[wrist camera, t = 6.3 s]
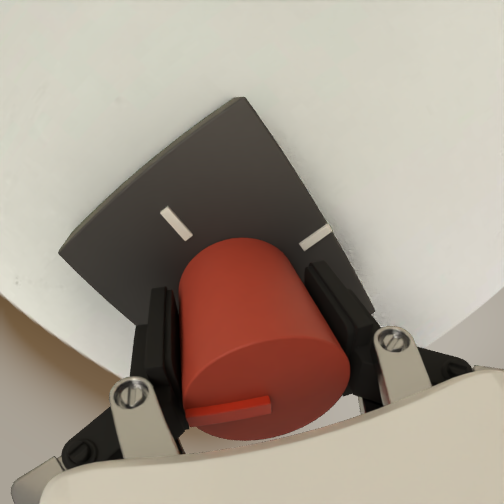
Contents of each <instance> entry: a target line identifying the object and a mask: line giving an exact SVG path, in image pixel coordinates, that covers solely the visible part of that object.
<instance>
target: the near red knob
mask: <svg viewBox="0 0 504 504" xmlns="http://www.w3.org/2000/svg"><path fill="white" fill-rule="evenodd" d="M179 337H180V362H181V382H182V398H183V408H184V411H185V417H186V420H187V422H188V424H189V426H190V427H197V428H198V429H200V430H202V431H204V432H206V433H208V434H210V435H212V436H216V437H219V438H224V439H229V440H242V441H243V440H244V441H246V440H260V439H267V438H272V437H276V436H280V435H284V434H287V433H290V432H292V431H295V430H297V429H299V428H302V427H304V426H306V425H307V424H309V423H311V422H313V421H314V420H316V419H317V418H319V417H320V416H322V415H323V414H324V413H325V412H327V411H328V410H329V409H330V408H331V407H332V406H333V405H334V404H335V403H336V402H337V401H338V400H339V399H340V397H341V396H342V394H343V393H344V391H345V389H346V387H347V385H348V382H349V379H350V363H349V360H348V357H347V356H346V354H345V352H344V351H343V349H342V347H341V346H340V344H339V342H338V340H337V339H336V337H335V335H334V334H333V332H332V330H331V329H330V327H329V325H328V324H327V322H326V320H325V319H324V317H323V315H322V314H321V312H320V310H319V309H318V307H317V305H316V304H315V302H314V300H313V299H312V297H311V296H310V294H309V292H308V291H307V289H306V287H305V286H304V284H303V282H302V281H301V279H300V278H299V276H298V274H297V273H296V271H295V269H294V268H293V266H292V265H291V263H290V261H289V260H288V258H287V257H286V256H285V255H284V253H283V252H281V251H280V250H279V249H278V248H276V247H275V246H273V245H272V244H269V243H267V242H265V241H262V240H258V239H253V238H232V239H227V240H223V241H220V242H217V243H215V244H213V245H210V246H208V247H207V248H205V249H204V250H202V251H201V252H200V253H198V254H197V255H196V256H195V257H194V258H193V259H192V260H191V261H190V262H189V264H188V265H187V267H186V268H185V270H184V272H183V274H182V276H181V279H180V283H179Z"/></svg>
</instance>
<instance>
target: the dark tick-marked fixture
mask: <svg viewBox="0 0 504 504" xmlns="http://www.w3.org/2000/svg"><path fill="white" fill-rule="evenodd" d="M332 231H333V230H332V229H331V227H330V225H329V224H328V223H327V222H326V220H325V219H324V217H323V215H322V214H321V212H320V210H319V209H318V207H317V205H316V204H315V202H314V200H313V199H312V197H311V195H310V194H309V192H308V191H307V189H306V187H305V186H304V184H303V183H302V181H301V179H300V178H299V176H298V175H297V173H296V172H295V170H294V168H293V167H292V165H291V164H290V162H289V161H288V159H287V158H286V156H285V155H284V153H283V151H282V150H281V148H280V147H279V145H278V144H277V142H276V141H275V139H274V138H273V136H272V135H271V133H270V132H269V131H268V129H267V128H266V126H265V125H264V123H263V122H262V120H261V119H260V117H259V116H258V115H257V113H256V112H255V110H254V109H253V107H252V106H251V105H250V103H249V102H248V100H247V99H246V98H245V97H236V98H233V99H232V100H230V101H229V102H227V103H226V104H224V105H223V106H221V107H220V108H218V109H217V110H216V111H214V112H213V113H211V114H210V115H208V116H207V117H206V118H204V119H203V120H202V121H200V122H199V123H197V124H196V125H195V126H193V127H192V128H191V129H189V130H188V131H187V132H185V133H184V134H183V135H181V136H180V137H179V138H178V139H176V140H175V141H174V142H172V143H171V144H170V145H169V146H167V147H166V148H165V149H164V150H162V151H161V152H160V153H159V154H157V155H156V156H155V157H154V158H152V159H151V160H150V161H149V162H148V163H146V164H145V165H144V166H143V167H142V168H140V169H139V170H138V171H137V172H136V173H135V174H133V175H132V176H131V177H130V178H129V179H128V180H127V181H125V182H124V183H123V184H122V185H121V186H120V187H119V188H118V189H116V190H115V191H114V192H113V193H112V194H111V195H110V196H109V197H108V198H107V199H106V200H105V201H103V202H102V203H101V204H100V205H99V206H98V207H97V208H96V209H95V210H94V211H93V212H92V213H91V214H90V215H89V216H88V217H87V218H86V219H85V220H84V221H83V222H82V223H81V224H80V225H79V226H78V227H77V228H76V229H75V230H74V231H73V232H72V233H71V234H70V236H69V237H68V239H67V240H66V241H65V243H64V244H63V246H62V247H61V248H60V250H59V252H58V253H59V255H60V256H61V257H62V258H63V259H64V260H65V261H66V262H67V263H68V264H69V265H70V266H71V267H72V268H73V269H74V270H75V271H76V272H77V273H78V274H79V275H80V276H81V277H82V278H83V279H84V280H86V281H87V282H88V283H89V284H90V285H91V286H92V287H93V288H94V289H95V290H96V291H97V292H98V293H99V294H100V295H102V296H103V297H104V298H105V299H106V300H107V301H108V302H109V303H110V304H112V305H113V306H114V307H115V308H116V309H117V310H118V311H120V312H121V313H122V314H123V315H124V316H125V317H126V318H128V319H129V320H130V321H131V322H132V323H134V324H135V325H136V326H137V325H143V324H148V314H149V305H150V296H151V289H152V288H157V287H163V286H166V287H167V289H168V290H169V289H172V290H173V293H174V297H175V301H176V305H177V309H178V313H179V283H180V279H181V276H182V274H183V272H184V270H185V268H186V267H187V265H188V264H189V262H190V261H191V260H192V259H193V258H194V257H195V256H196V255H197V254H198V253H200V252H201V251H202V250H204V249H205V248H207V247H208V246H210V245H213V244H215V243H217V242H220V241H223V240H227V239H232V238H253V239H258V240H262V241H265V242H267V243H269V244H272V245H273V246H275V247H276V248H278V249H279V250H280V251H281V252H283V253H284V255H285V256H286V257H287V258H288V260H289V261H290V263H291V265H292V266H293V268H294V269H295V271H296V273H297V274H298V276H299V278H300V279H301V281H302V282H303V284H304V273H305V267H309V263H310V262H316V261H322V260H324V261H325V262H326V263H327V264H328V265H329V267H330V268H331V269H332V271H333V272H334V273H335V274H336V276H337V277H338V278H339V279H340V281H341V282H342V283H343V284H344V286H345V287H346V288H347V289H351V290H352V291H353V292H354V294H355V295H356V296H357V297H358V299H359V300H360V301H361V302H362V304H363V305H364V306H365V308H366V309H367V310H368V311H369V313H370V314H373V313H374V312H375V309H374V307H373V305H372V303H371V301H370V299H369V297H368V296H367V294H366V292H365V290H364V288H363V286H362V284H361V282H360V280H359V279H358V277H357V275H356V273H355V271H354V269H353V268H352V266H351V264H350V262H349V260H348V259H347V257H346V255H345V253H344V251H343V250H342V248H341V246H340V244H339V243H338V241H337V239H336V237H335V236H334V234H333V232H332Z"/></svg>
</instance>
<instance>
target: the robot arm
mask: <svg viewBox="0 0 504 504" xmlns="http://www.w3.org/2000/svg"><path fill="white" fill-rule="evenodd" d="M304 286H305V287H306V289H307V291H308V292H309V294H310V296H311V297H312V299H313V300H314V302H315V304H316V305H317V307H318V309H319V310H320V312H321V314H322V315H323V317H324V319H325V320H326V322H327V324H328V325H329V327H330V329H331V330H332V332H333V334H334V335H335V337H336V339H337V340H338V342H339V344H340V346H341V347H342V349H343V351H344V352H345V354H346V356H347V357H348V360H349V363H350V379H349V382H348V385H347V387H346V389H345V391H344V393H343V394H342V395H343V396H346V395H349V394H353V395H356V396H358V401H359V407H360V413H361V415H359V416H356V417H353V418H350V419H347V420H344V421H341V422H338V423H335V424H331V425H328V426H325V427H321V428H318V429H315V430H311V431H307V432H303V433H300V434H296V435H292V436H288V437H283V438H279V439H275V440H270V441H265V442H261V443H256V444H251V445H246V446H240V447H234V448H229V449H222V450H215V451H208V452H201V453H192V454H185V451H184V449H183V447H182V445H181V442H180V440H179V437H180V435H182V434H183V432H185V430H186V429H189V424H188V422H187V420H186V417H185V411H184V408H183V398H182V382H181V362H180V337H179V313H178V309H177V305H176V301H175V297H174V293H173V290H172V289H169V290H168V289H167V287H166V286H163V287H157V288H152V289H151V296H150V305H149V314H148V324H143V325H137V326H136V329H135V336H134V344H133V352H132V361H131V370H130V377H126V378H124V379H121V380H120V381H118V382H117V383H116V384H115V385H114V386H113V387H112V389H111V391H110V394H109V400H110V407H109V408H108V409H107V410H105V411H104V412H103V413H102V414H101V415H99V416H98V417H97V418H96V419H94V420H93V421H92V422H91V423H90V424H89V425H87V426H86V427H85V428H84V429H82V430H81V431H80V432H79V433H77V434H76V435H75V436H74V437H73V438H71V439H70V440H69V441H68V442H67V443H66V444H65V446H64V448H63V450H62V455H61V456H60V457H58V458H56V457H55V456H54V457H52V458H50V459H49V460H47V461H46V462H44V463H43V464H41V465H39V466H38V467H36V468H34V469H33V470H31V471H29V472H28V473H26V474H24V475H23V476H21V477H19V478H18V479H17V480H16V481H15V482H14V483H13V485H12V487H11V495H12V499H13V501H14V504H504V369H500V368H492V367H485V366H478V365H474V367H473V368H471V366H470V365H469V364H468V363H467V362H466V361H465V360H463V359H460V358H458V357H454V356H450V355H446V354H442V353H439V352H435V351H431V350H427V349H424V348H420V347H417V346H416V344H415V341H414V339H413V337H412V335H411V334H410V333H409V332H408V331H407V330H405V329H403V328H400V327H396V326H386V327H382V328H381V327H380V326H379V324H378V323H377V322H376V320H375V319H374V318H373V317H372V315H371V314H370V313H369V311H368V310H367V309H366V308H365V306H364V305H363V304H362V302H361V301H360V300H359V299H358V297H357V296H356V295H355V294H354V292H353V291H352V290H351V289H347V288H346V287H345V286H344V284H343V283H342V282H341V281H340V279H339V278H338V277H337V276H336V274H335V273H334V272H333V271H332V269H331V268H330V267H329V265H328V264H327V263H326V262H325V261H324V260H322V261H316V262H310V263H309V267H305V273H304Z"/></svg>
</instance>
